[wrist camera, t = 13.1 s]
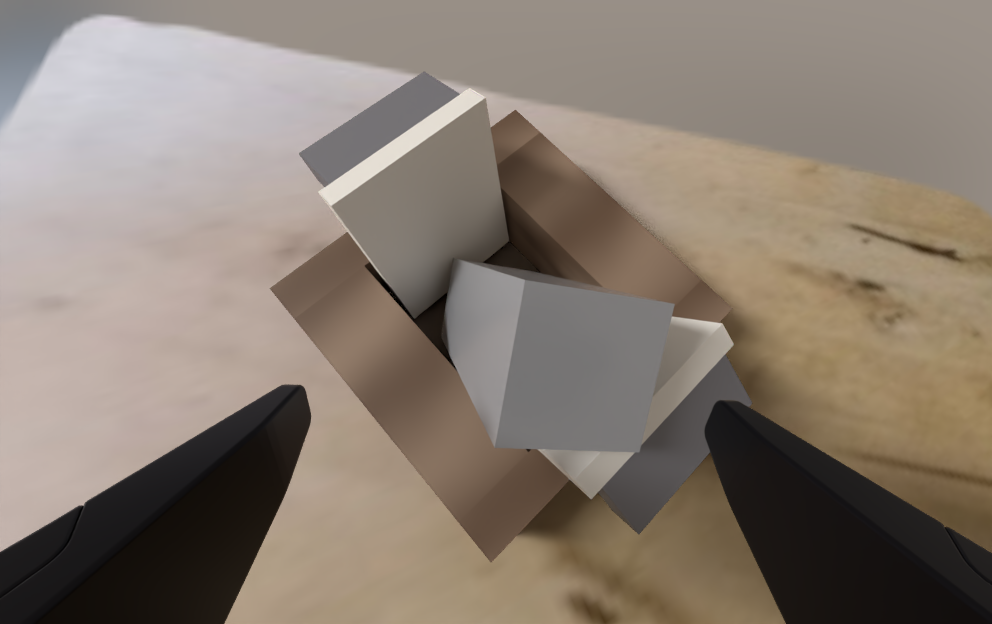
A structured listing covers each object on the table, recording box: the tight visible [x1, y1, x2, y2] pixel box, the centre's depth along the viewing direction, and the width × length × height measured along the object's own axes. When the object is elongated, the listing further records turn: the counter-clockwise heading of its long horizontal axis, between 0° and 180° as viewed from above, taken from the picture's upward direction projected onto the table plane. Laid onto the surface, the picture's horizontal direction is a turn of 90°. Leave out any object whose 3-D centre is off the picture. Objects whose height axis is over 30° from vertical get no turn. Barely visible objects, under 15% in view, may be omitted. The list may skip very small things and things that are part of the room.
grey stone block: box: [441, 258, 675, 452], centre depth 16 cm, size 4×4×12 cm
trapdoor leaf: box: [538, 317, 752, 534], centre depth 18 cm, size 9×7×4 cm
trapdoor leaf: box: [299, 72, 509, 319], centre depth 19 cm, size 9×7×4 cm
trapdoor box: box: [270, 110, 733, 562], centre depth 21 cm, size 16×16×4 cm
